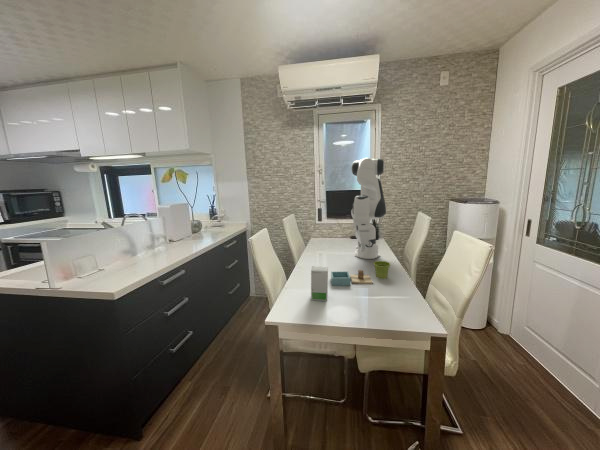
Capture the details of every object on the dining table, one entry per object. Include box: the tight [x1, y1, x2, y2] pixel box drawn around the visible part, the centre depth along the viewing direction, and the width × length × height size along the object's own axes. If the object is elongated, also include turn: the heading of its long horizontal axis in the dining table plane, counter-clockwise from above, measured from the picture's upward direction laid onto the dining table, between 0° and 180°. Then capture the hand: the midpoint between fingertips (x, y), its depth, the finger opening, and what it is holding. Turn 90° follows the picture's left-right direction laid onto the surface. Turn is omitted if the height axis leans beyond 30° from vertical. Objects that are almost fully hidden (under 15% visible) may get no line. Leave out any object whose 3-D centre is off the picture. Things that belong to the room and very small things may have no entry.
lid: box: [349, 269, 374, 285], centre depth 145 cm, size 11×11×5 cm
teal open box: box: [330, 270, 351, 287], centre depth 143 cm, size 10×10×5 cm
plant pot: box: [373, 260, 391, 279], centre depth 148 cm, size 9×9×9 cm
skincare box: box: [310, 265, 329, 302], centre depth 125 cm, size 8×7×16 cm
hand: (361, 248), depth 142 cm, fingers open, 8 cm apart
